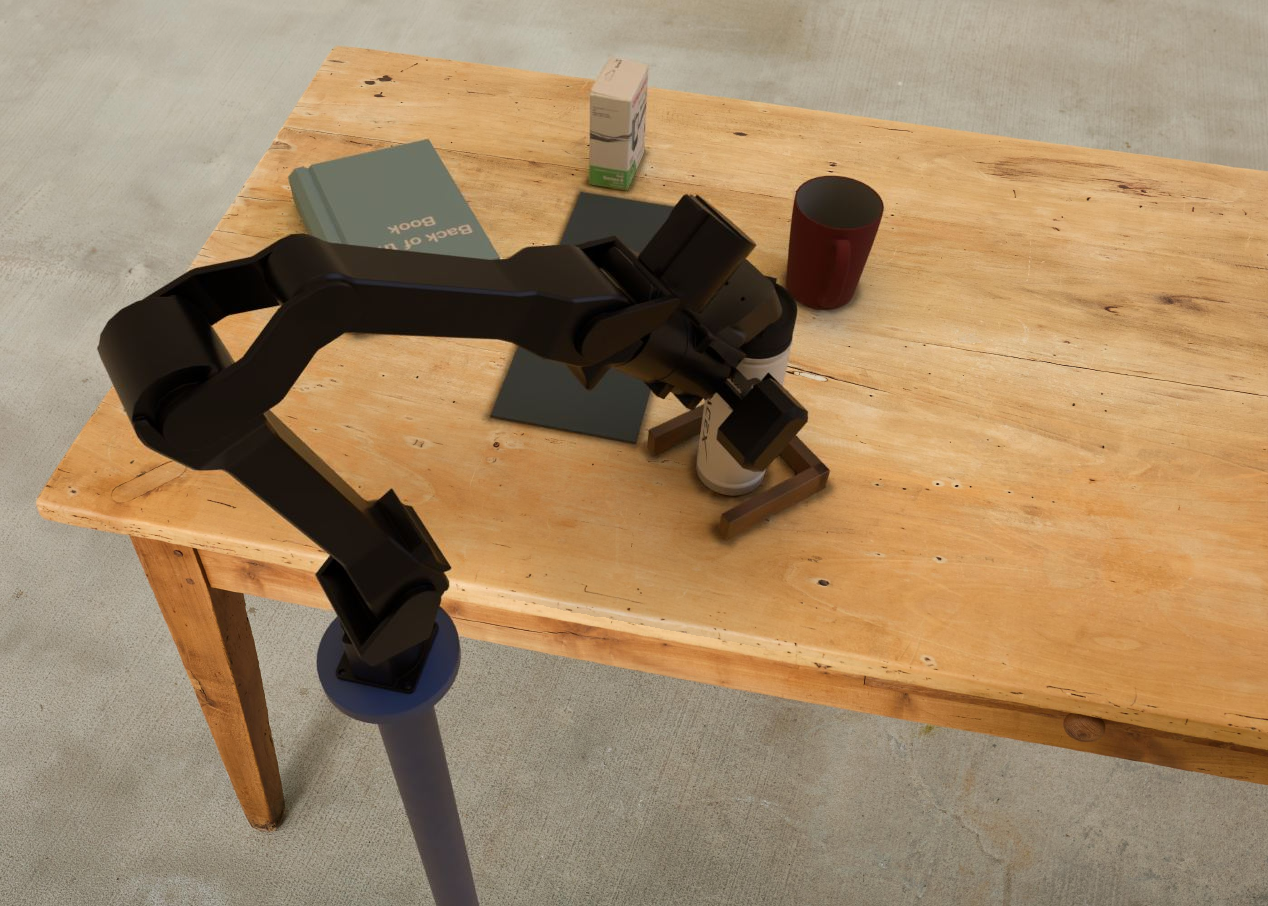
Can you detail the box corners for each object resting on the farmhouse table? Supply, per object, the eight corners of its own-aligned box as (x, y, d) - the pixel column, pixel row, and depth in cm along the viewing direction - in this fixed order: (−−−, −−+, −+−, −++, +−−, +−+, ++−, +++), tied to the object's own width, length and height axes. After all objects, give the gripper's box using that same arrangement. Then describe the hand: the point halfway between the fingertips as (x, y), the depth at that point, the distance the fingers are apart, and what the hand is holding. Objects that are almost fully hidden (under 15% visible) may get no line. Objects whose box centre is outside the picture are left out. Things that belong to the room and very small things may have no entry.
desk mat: (635, 444, 98) (635, 441, 98) (490, 417, 99) (490, 415, 99) (699, 212, 121) (699, 210, 121) (580, 193, 122) (580, 191, 122)
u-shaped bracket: (726, 540, 91) (729, 523, 89) (646, 447, 98) (648, 429, 96) (825, 487, 95) (830, 470, 94) (743, 401, 102) (746, 383, 100)
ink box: (627, 192, 123) (631, 101, 114) (586, 185, 123) (587, 93, 114) (645, 151, 128) (650, 61, 119) (606, 144, 129) (608, 54, 120)
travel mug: (770, 451, 98) (806, 281, 83) (757, 504, 94) (791, 335, 79) (705, 436, 99) (728, 265, 84) (688, 487, 95) (710, 317, 80)
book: (502, 295, 110) (499, 257, 107) (351, 336, 106) (342, 298, 102) (433, 176, 123) (428, 138, 120) (295, 208, 118) (286, 170, 115)
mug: (868, 337, 108) (893, 252, 100) (783, 333, 108) (800, 248, 100) (856, 262, 116) (878, 177, 108) (776, 258, 116) (791, 173, 108)
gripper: (809, 334, 70) (895, 387, 83) (652, 187, 80) (750, 254, 92) (702, 458, 73) (800, 491, 86) (564, 302, 83) (670, 352, 95)
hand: (755, 390), depth 90 cm, fingers closed on travel mug, 6 cm apart
